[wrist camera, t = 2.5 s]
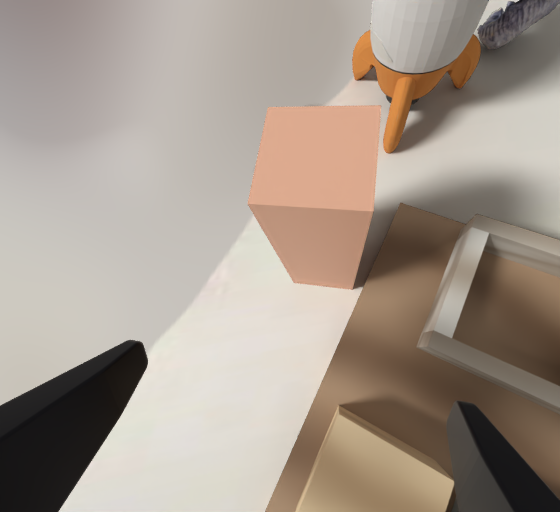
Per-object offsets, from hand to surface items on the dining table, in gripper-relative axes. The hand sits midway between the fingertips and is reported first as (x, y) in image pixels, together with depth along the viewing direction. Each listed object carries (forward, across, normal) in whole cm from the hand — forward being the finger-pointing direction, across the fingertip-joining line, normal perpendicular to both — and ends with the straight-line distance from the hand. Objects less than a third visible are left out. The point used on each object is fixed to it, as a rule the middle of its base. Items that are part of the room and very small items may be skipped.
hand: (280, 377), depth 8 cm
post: (+15, 0, +4) cm, 16 cm away
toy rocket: (+25, -5, -6) cm, 26 cm away
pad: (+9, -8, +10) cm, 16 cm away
